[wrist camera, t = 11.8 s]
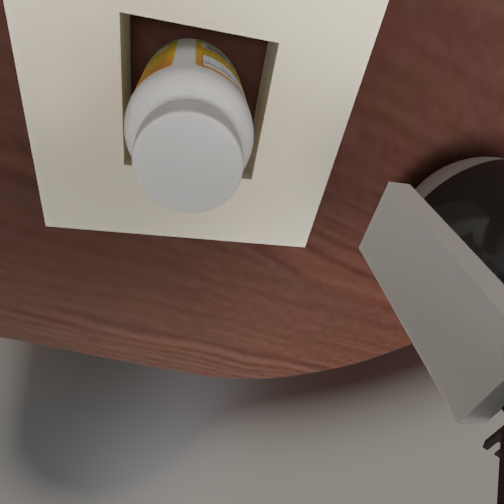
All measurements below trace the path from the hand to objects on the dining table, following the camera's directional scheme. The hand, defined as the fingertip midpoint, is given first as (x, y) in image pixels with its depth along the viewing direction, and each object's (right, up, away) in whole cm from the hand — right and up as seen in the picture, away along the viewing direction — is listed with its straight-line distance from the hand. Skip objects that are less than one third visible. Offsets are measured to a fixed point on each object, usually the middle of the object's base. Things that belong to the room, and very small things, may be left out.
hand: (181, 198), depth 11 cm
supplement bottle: (-1, +8, +10) cm, 12 cm away
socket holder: (-1, +7, +9) cm, 12 cm away
